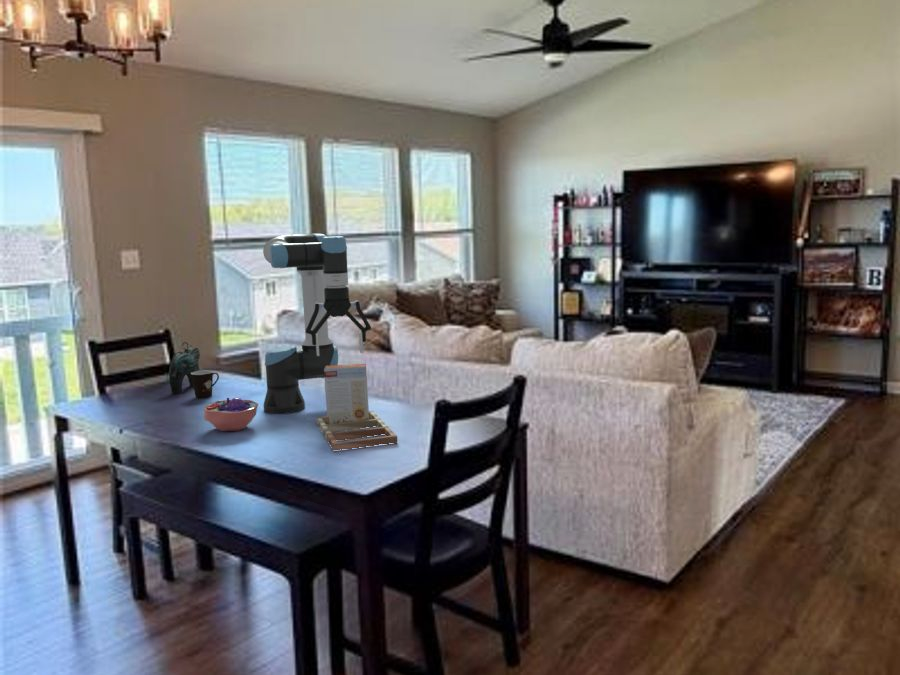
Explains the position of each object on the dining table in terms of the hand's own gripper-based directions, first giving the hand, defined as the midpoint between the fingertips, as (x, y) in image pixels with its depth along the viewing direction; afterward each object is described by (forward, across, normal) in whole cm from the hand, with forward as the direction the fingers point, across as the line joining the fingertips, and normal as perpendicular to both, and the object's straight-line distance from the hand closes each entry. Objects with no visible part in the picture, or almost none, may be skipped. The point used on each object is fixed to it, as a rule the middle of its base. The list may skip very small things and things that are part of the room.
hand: (339, 353), depth 233 cm
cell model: (+28, -36, +24) cm, 52 cm away
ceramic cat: (+29, -60, +95) cm, 116 cm away
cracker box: (+28, +3, +15) cm, 32 cm away
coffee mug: (+29, -50, +78) cm, 97 cm away
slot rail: (+28, +4, +5) cm, 29 cm away
